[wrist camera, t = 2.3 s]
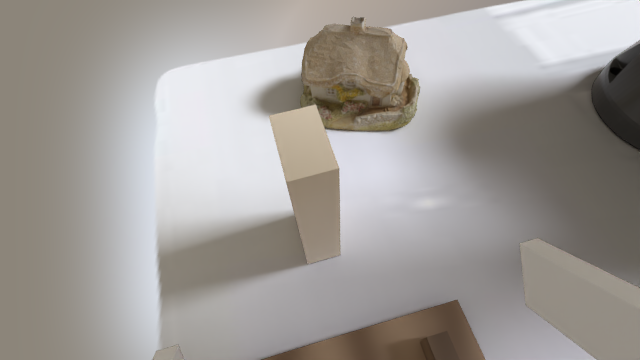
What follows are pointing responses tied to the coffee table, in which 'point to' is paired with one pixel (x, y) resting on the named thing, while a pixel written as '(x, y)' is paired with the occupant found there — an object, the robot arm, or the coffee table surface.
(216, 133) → the coffee table surface
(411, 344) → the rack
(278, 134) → the beige rectangular block
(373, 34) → the ceramic model
